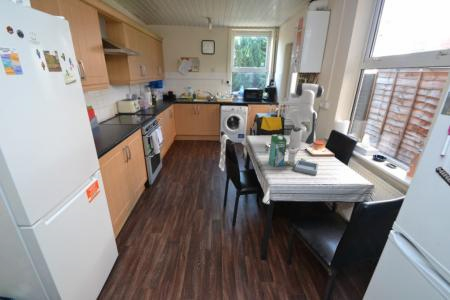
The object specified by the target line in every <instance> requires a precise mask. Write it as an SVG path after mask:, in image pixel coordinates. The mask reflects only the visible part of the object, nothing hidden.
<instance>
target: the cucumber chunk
mask: <svg viewBox="0 0 450 300" xmlns="http://www.w3.org/2000/svg"><path fill="white" fill-rule="evenodd" d="M295 162H296V158H295V159H294V161H293V164H292V165H290V162H288V166H289V167H295V165H296V164H295Z"/></svg>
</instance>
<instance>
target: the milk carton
mask: <svg viewBox="0 0 450 300" xmlns="http://www.w3.org/2000/svg"><path fill="white" fill-rule="evenodd" d="M270 137H271V139H270V147H269V155H268V164H269V165H270V166H272V167H275V168H276V167H284V162H285V157H286V149H287V142H288V140H287V139H286V137H284V135H283V134H282V133H280V134H275V133H274V134H271V136H270Z"/></svg>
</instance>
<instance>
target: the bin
mask: <svg viewBox="0 0 450 300" xmlns="http://www.w3.org/2000/svg"><path fill="white" fill-rule="evenodd" d="M318 168H319V163H317V162H311V161H307V160H306V161H302V160H301V159H298V160H297V161H296V164H295V165H294V172H297V173H298V172H299V173H303V174H308V175H312V176H317V173H318Z"/></svg>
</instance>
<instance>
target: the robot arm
mask: <svg viewBox="0 0 450 300" xmlns="http://www.w3.org/2000/svg"><path fill="white" fill-rule="evenodd" d="M294 89H295V90H294V91H295V94H296V96H298V97H300V99H299V102H298V106H297V107H298V108H297V109H292V110H290V112H289V113H288V117H289V120H291V121H292V122H293V125H294V127H293V128H292V129H291V131H290V133H289V134H290V135H289V141H288V146H287V147H288V148H287V149H288V151H287V152H288V158H287V161H288V163H289V162H290V165H292V164H293V161H294V159H295V160H296V156H297V154H298V152H300V151H303V150H304V151H306V150H305V149H306V148H305V147H306V146H307V145H312V144H314V143H315V141H316V128H317V125H316V124H317V118H318V113H317V112H316V111H315V110H314V103H315V99H319V98H321V97H322V95H323V94H324V91H325V90H324V86H323V85H322V84H316V83H303V82H300V83H298V84H296V87H295V88H294ZM302 122H307V123H308V122H309V131H307V129H308V128H307V127H306V125H305V124H302Z"/></svg>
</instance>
